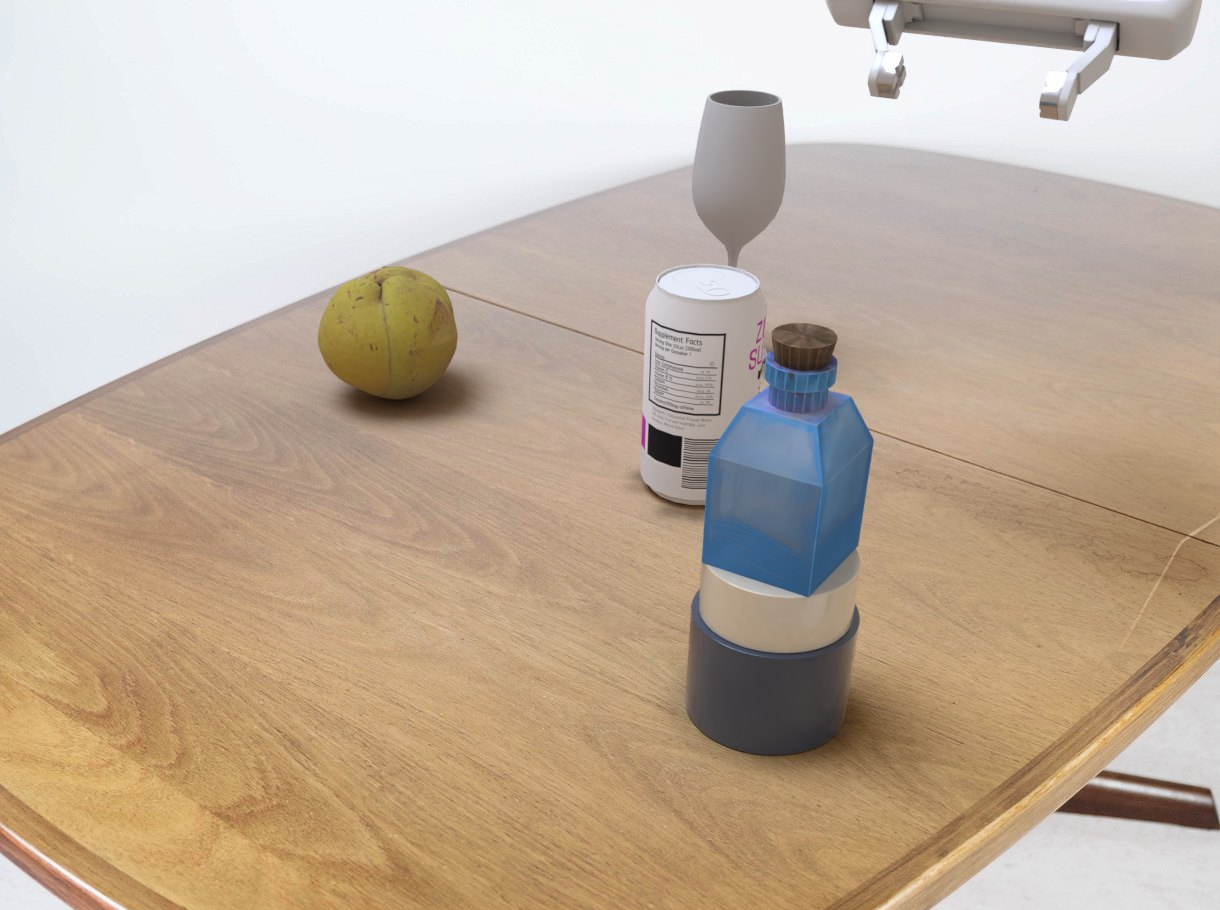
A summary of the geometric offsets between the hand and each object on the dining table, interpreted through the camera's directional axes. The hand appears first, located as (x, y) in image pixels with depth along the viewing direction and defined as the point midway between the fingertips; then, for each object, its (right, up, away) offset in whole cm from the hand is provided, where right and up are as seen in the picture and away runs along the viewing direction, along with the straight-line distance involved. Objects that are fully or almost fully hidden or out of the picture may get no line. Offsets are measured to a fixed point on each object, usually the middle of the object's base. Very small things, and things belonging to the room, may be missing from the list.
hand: (965, 102), depth 72 cm
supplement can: (-13, -16, +27) cm, 34 cm away
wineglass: (-9, -1, +47) cm, 47 cm away
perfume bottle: (-10, -25, -1) cm, 27 cm away
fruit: (-37, -6, +39) cm, 54 cm away
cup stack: (-10, -32, +5) cm, 34 cm away
